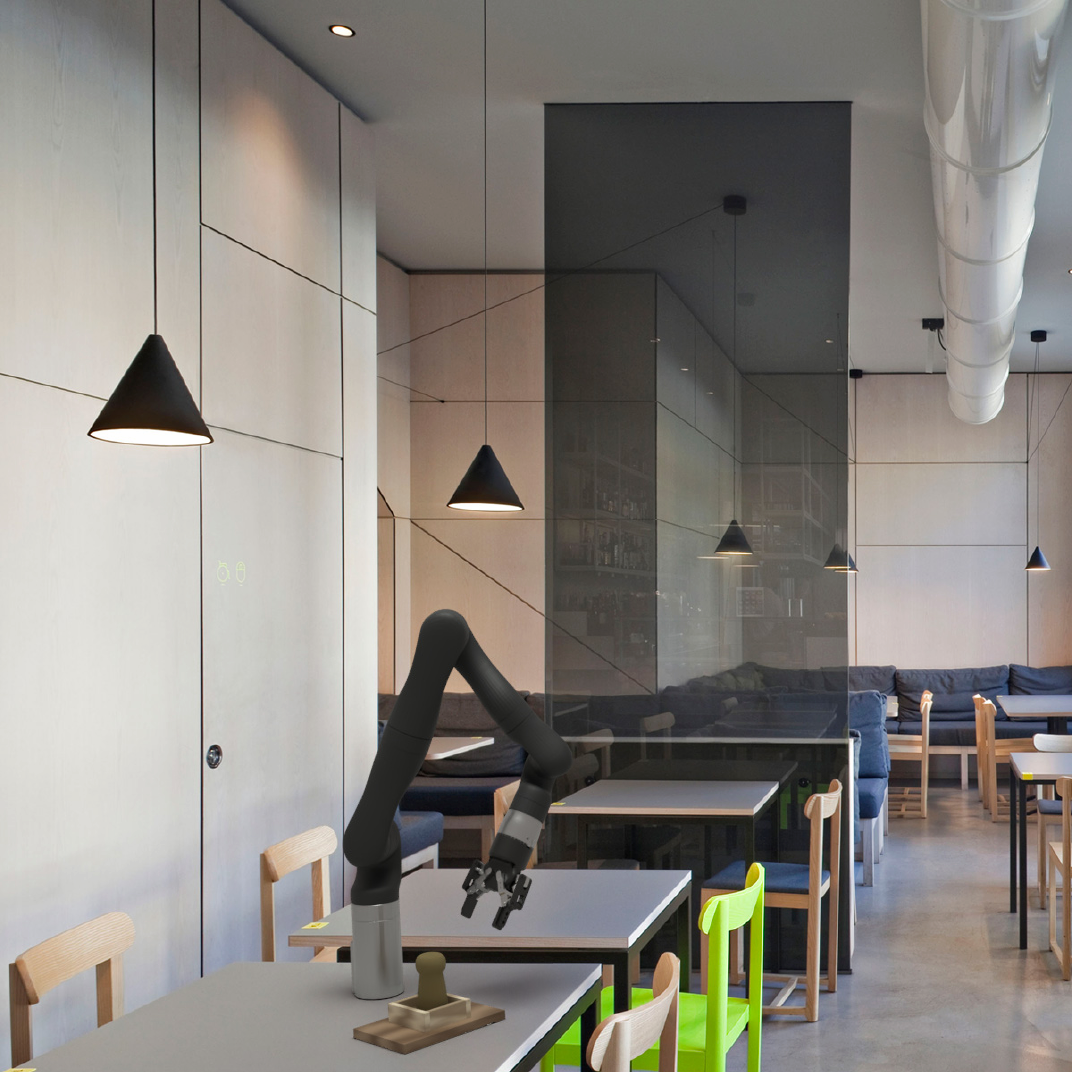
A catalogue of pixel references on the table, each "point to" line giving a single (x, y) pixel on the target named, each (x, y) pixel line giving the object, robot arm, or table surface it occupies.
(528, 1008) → the table surface
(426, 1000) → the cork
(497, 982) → the table surface
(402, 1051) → the collar board
